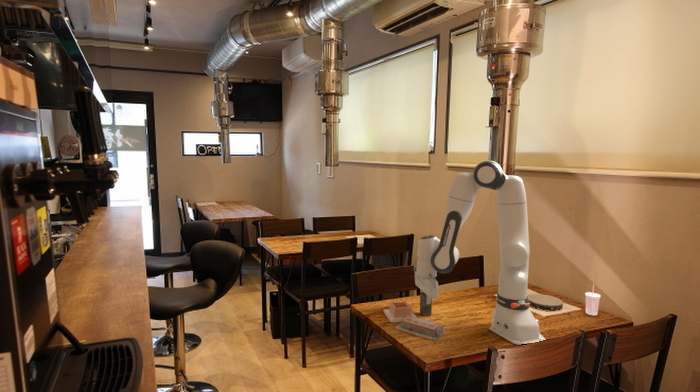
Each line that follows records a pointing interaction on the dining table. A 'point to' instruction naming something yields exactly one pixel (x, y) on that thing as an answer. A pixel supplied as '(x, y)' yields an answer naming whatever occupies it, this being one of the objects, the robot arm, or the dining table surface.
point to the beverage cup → (592, 302)
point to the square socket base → (398, 311)
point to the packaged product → (421, 327)
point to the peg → (425, 305)
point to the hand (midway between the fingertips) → (425, 301)
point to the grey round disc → (545, 302)
